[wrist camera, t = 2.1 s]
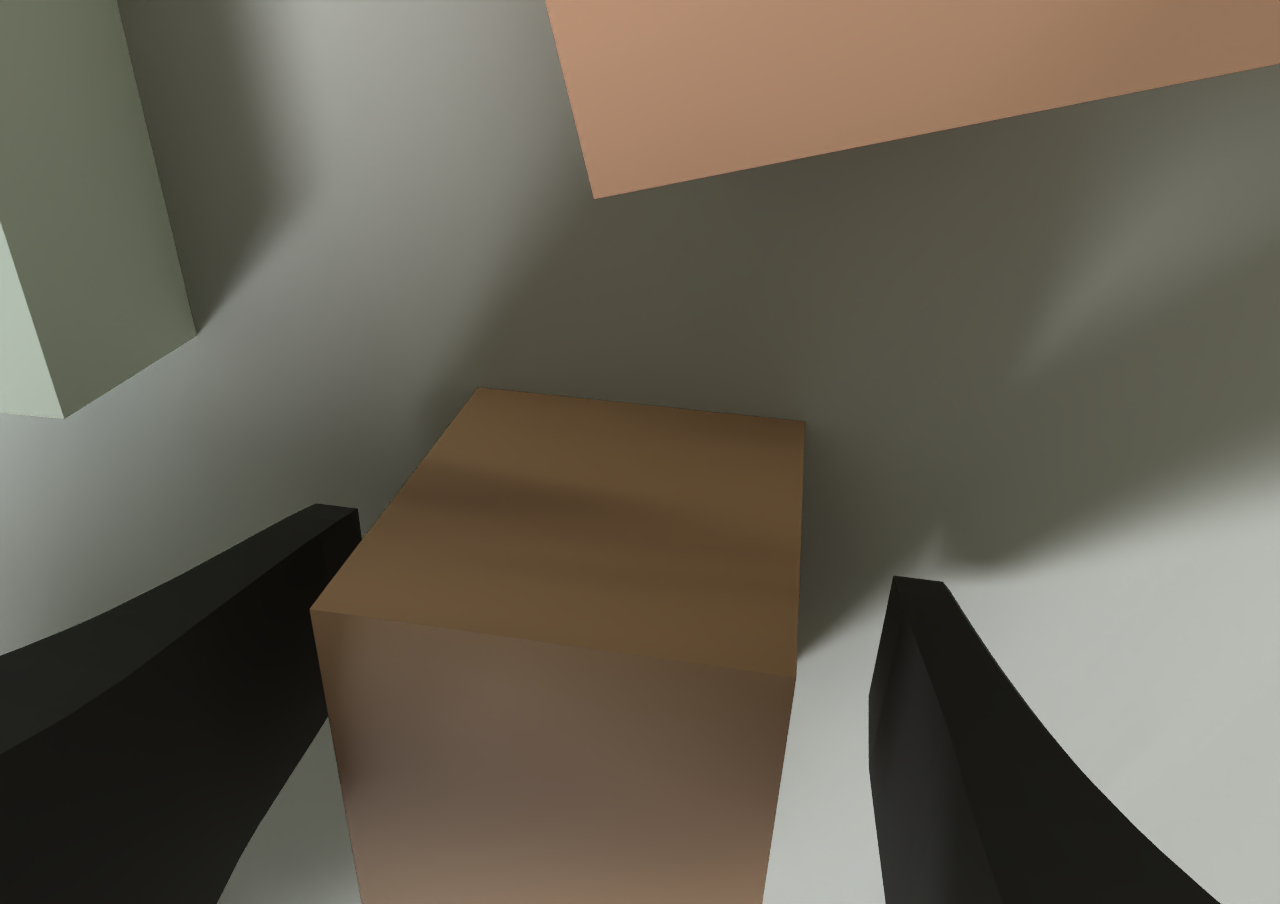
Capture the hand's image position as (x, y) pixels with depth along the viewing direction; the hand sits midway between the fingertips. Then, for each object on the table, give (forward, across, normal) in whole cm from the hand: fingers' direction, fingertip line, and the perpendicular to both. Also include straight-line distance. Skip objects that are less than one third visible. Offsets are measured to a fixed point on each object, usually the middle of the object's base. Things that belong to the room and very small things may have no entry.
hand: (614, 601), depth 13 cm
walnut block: (+2, 0, 0) cm, 2 cm away
